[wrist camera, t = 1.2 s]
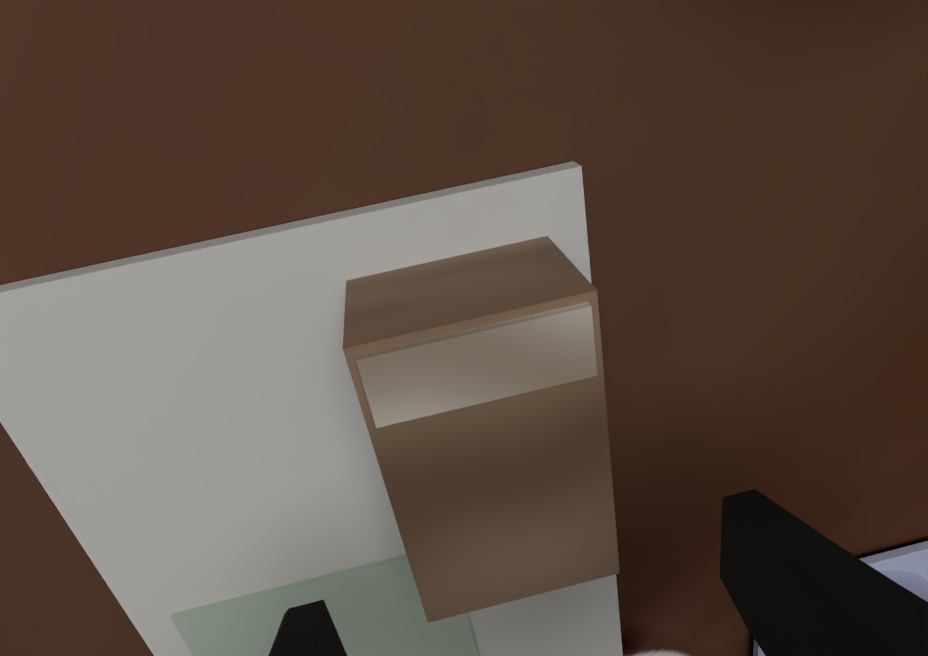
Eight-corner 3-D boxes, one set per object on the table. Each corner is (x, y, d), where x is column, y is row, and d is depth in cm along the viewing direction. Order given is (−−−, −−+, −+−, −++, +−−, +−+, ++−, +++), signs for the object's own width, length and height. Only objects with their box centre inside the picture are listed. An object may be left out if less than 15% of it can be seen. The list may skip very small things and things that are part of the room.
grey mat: (618, 666, 24) (626, 685, 23) (241, 767, 23) (238, 790, 22) (573, 161, 15) (584, 167, 14) (-58, 297, 14) (-80, 312, 13)
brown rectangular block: (575, 482, 18) (622, 579, 15) (416, 521, 18) (428, 629, 15) (547, 236, 15) (600, 294, 12) (346, 280, 15) (342, 353, 11)
